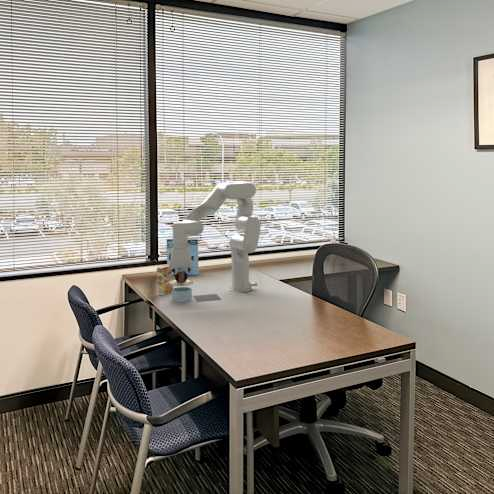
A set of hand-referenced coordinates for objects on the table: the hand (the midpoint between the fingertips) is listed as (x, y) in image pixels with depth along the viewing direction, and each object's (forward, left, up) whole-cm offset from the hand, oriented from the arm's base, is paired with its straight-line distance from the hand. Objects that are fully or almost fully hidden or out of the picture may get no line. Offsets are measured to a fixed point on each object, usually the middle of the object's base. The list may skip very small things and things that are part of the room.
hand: (181, 280), depth 274 cm
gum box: (-12, -64, -11) cm, 66 cm away
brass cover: (0, 0, -1) cm, 1 cm away
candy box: (+6, -17, -11) cm, 21 cm away
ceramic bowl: (0, 0, -11) cm, 11 cm away
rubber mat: (-13, +1, -11) cm, 17 cm away
